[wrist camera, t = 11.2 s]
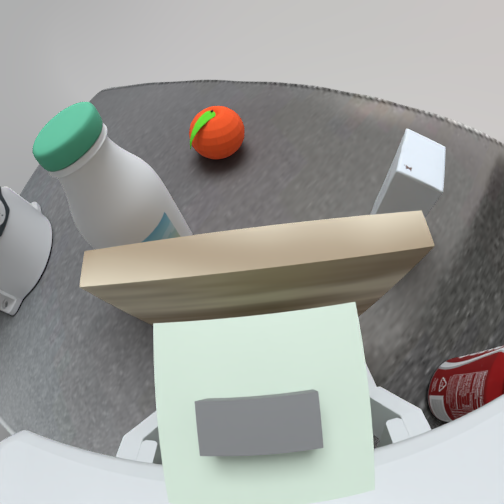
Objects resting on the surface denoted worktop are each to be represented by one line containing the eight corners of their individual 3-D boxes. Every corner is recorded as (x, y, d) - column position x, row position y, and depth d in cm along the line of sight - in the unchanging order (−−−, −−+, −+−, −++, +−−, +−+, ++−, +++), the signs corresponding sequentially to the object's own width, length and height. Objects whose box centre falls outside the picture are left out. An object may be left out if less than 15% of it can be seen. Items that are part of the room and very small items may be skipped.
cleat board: (354, 427, 21) (464, 485, 5) (204, 442, 22) (95, 515, 6) (340, 313, 26) (421, 210, 10) (196, 329, 27) (84, 251, 11)
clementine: (220, 183, 34) (207, 142, 28) (180, 164, 36) (164, 125, 30) (257, 144, 36) (252, 102, 30) (218, 128, 39) (208, 90, 32)
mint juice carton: (238, 437, 15) (156, 532, 4) (231, 358, 18) (135, 313, 6) (317, 429, 15) (387, 519, 3) (309, 350, 17) (366, 289, 6)
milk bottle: (138, 237, 32) (38, 110, 14) (201, 226, 32) (129, 69, 14) (136, 300, 29) (-4, 195, 11) (204, 292, 28) (97, 151, 10)
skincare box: (393, 259, 28) (444, 194, 17) (359, 243, 29) (394, 170, 18) (405, 216, 30) (447, 146, 19) (374, 202, 31) (405, 125, 20)
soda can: (431, 432, 20) (506, 447, 9) (417, 376, 23) (492, 366, 12) (477, 400, 20) (554, 395, 9) (463, 348, 23) (539, 321, 12)
